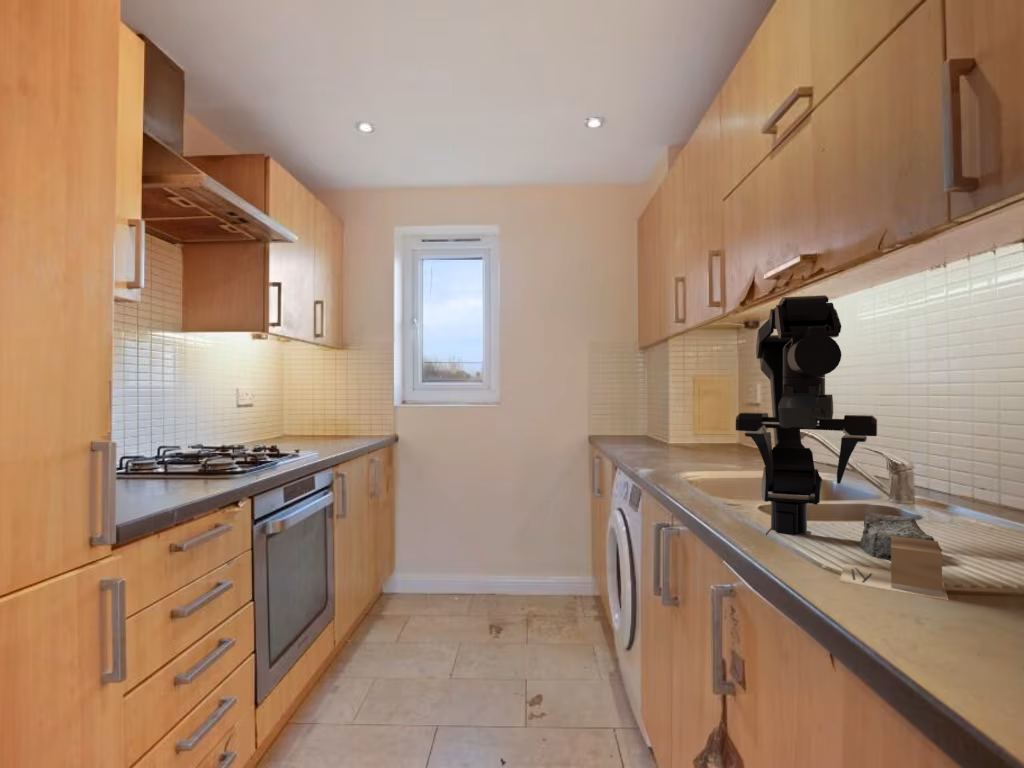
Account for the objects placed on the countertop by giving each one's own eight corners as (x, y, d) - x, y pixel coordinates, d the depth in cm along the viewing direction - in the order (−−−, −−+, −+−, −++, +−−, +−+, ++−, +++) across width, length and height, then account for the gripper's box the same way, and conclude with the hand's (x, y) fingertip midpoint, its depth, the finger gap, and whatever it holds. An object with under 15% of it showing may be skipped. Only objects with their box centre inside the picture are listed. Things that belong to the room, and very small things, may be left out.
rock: (950, 574, 78) (948, 527, 78) (884, 572, 79) (883, 526, 79) (894, 548, 92) (893, 508, 92) (838, 547, 92) (838, 507, 93)
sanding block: (891, 572, 75) (891, 535, 75) (937, 580, 72) (937, 541, 72) (891, 587, 69) (891, 547, 69) (942, 596, 66) (941, 554, 66)
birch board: (844, 572, 79) (844, 563, 79) (942, 587, 73) (942, 578, 73) (839, 590, 71) (839, 581, 71) (948, 610, 65) (948, 599, 65)
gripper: (727, 377, 84) (727, 481, 83) (875, 375, 73) (875, 494, 73) (743, 379, 93) (743, 472, 93) (877, 378, 82) (877, 483, 82)
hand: (803, 480), depth 85 cm, fingers open, 9 cm apart
